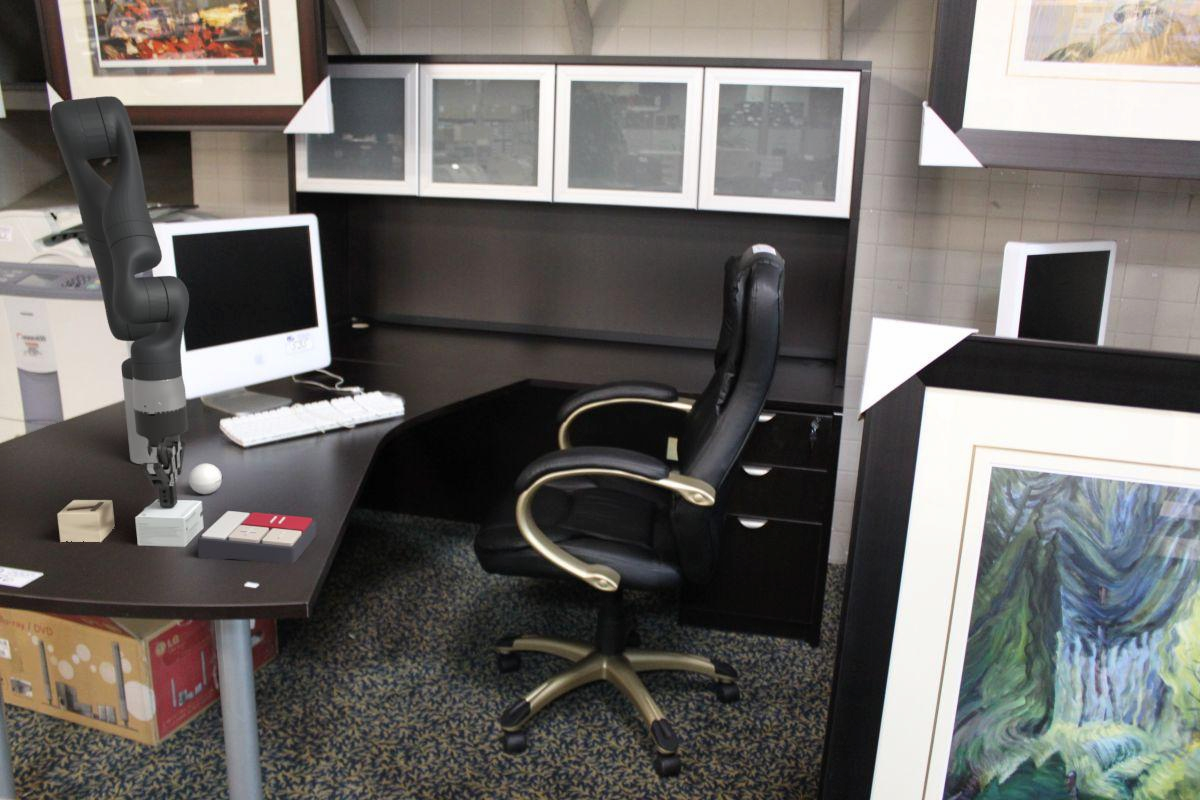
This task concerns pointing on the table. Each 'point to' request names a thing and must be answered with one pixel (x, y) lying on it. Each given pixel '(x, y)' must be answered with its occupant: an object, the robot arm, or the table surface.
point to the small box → (169, 524)
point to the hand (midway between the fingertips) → (168, 506)
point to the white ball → (205, 478)
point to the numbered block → (86, 521)
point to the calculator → (257, 537)
